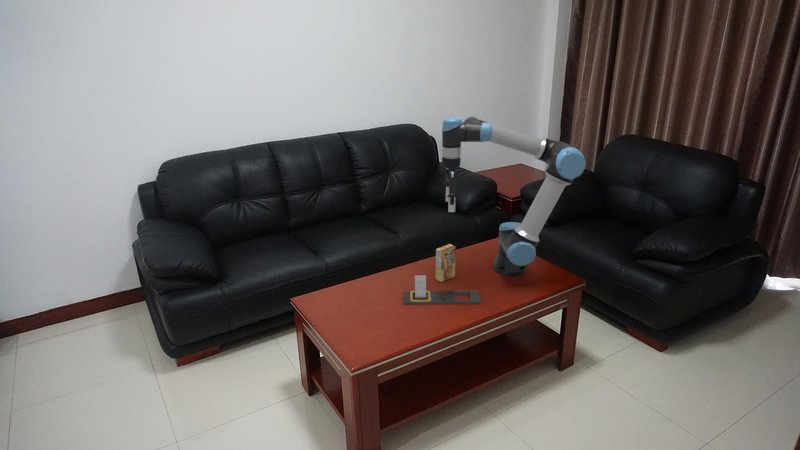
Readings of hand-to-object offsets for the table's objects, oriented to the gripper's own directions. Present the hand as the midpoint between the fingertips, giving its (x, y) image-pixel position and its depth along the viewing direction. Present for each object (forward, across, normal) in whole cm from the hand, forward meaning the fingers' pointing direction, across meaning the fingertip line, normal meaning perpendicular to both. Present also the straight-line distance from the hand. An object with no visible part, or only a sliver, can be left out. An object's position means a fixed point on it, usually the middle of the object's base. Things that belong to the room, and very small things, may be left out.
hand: (450, 206), depth 207 cm
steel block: (+37, +13, -13) cm, 41 cm away
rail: (+37, +13, -4) cm, 39 cm away
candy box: (+37, -6, -1) cm, 37 cm away
